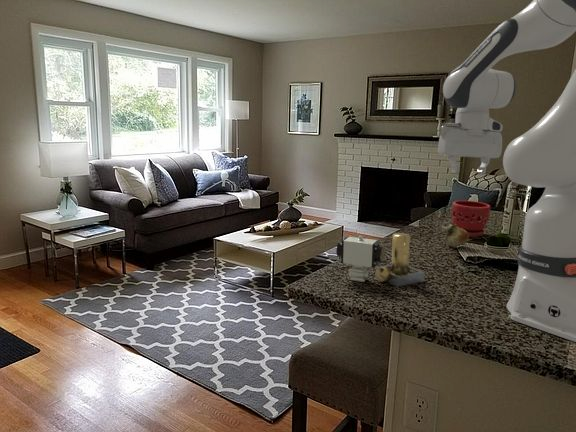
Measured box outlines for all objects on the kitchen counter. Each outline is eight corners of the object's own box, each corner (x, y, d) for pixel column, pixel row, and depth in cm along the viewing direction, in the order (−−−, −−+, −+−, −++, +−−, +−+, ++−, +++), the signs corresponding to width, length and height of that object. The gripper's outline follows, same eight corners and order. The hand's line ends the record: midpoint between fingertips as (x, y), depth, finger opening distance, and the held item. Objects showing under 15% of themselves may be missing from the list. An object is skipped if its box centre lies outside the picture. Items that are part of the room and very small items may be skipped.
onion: (455, 251, 145) (457, 227, 143) (438, 245, 152) (440, 222, 151) (473, 249, 148) (475, 225, 146) (455, 243, 155) (457, 220, 153)
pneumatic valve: (378, 286, 113) (380, 240, 111) (335, 279, 118) (336, 235, 116) (384, 279, 118) (386, 236, 115) (342, 273, 123) (343, 231, 121)
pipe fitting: (413, 279, 118) (415, 235, 115) (398, 283, 115) (400, 238, 113) (400, 274, 122) (402, 231, 120) (385, 277, 120) (387, 234, 118)
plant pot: (453, 237, 162) (456, 205, 160) (447, 229, 175) (449, 199, 172) (491, 239, 160) (494, 206, 157) (482, 231, 173) (485, 200, 170)
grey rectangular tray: (424, 281, 117) (425, 267, 116) (390, 287, 112) (391, 273, 111) (401, 271, 125) (402, 258, 124) (369, 277, 120) (369, 263, 119)
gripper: (449, 120, 120) (446, 172, 121) (507, 125, 127) (504, 174, 128) (434, 123, 126) (431, 172, 127) (490, 127, 133) (487, 173, 134)
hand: (468, 173), depth 128 cm, fingers open, 8 cm apart
